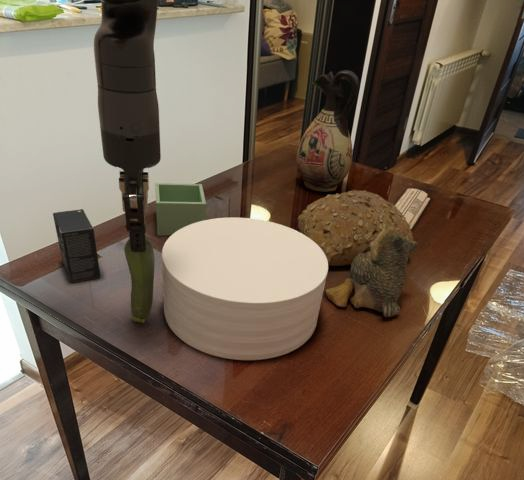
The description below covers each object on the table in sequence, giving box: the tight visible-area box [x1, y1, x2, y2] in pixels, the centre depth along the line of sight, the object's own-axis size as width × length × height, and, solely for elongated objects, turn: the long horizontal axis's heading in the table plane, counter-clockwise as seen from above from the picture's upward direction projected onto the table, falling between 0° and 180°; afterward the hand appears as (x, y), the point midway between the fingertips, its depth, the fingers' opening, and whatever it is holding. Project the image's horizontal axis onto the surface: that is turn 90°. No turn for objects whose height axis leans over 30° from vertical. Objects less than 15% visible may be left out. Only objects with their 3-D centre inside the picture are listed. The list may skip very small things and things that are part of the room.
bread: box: [297, 189, 414, 267], centre depth 108 cm, size 24×21×12 cm
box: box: [52, 208, 101, 283], centre depth 90 cm, size 8×6×11 cm
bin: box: [154, 182, 207, 237], centre depth 109 cm, size 11×11×8 cm
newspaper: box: [394, 187, 431, 230], centre depth 131 cm, size 24×7×2 cm, turn 153°
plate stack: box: [161, 217, 329, 361], centre depth 85 cm, size 28×28×12 cm
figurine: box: [325, 229, 419, 318], centre depth 91 cm, size 14×15×15 cm
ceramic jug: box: [295, 69, 360, 193], centre depth 128 cm, size 17×15×30 cm
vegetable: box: [124, 219, 155, 324], centre depth 77 cm, size 4×4×20 cm
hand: (138, 241), depth 74 cm, fingers open, 5 cm apart
